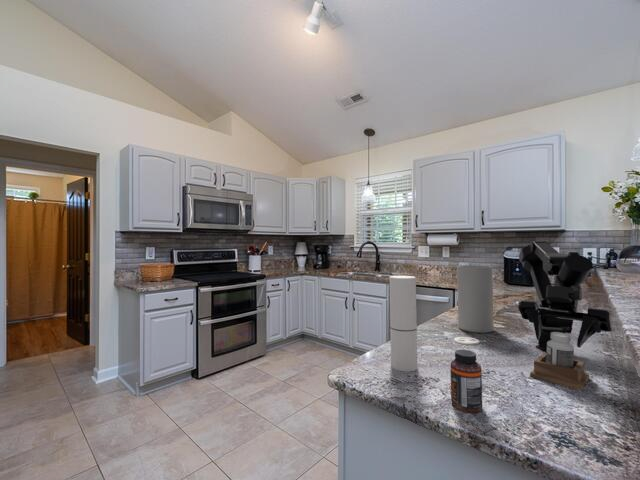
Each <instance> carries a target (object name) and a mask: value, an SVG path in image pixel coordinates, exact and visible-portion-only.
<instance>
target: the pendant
mask: <svg viewBox="0 0 640 480" xmlns="http://www.w3.org/2000/svg"><path fill="white" fill-rule="evenodd" d="M453 341H454V343H456V344H459V345H464V346H465V345H466V346H467V345H468V346H476V345H479V344H480V342H481V340H479V339H477V338H474V337H469V336H459V337H458V336H457V337H454V339H453ZM482 342H487V341H486V340H482Z"/></svg>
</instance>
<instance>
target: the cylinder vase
mask: <svg viewBox="0 0 640 480" xmlns="http://www.w3.org/2000/svg"><path fill="white" fill-rule="evenodd" d="M456 272H457V273H456V274H457V275H456V278H457V279H456V280H457V316H458V317H457V318H458V319H457V321H458V322H457V323H458V324H457V325H458V328H459V329H461V330H462V331H464V332H468V333H469V332H470V333H475V334H489V333H491V332H493V331H494V329H495V328H494V292H493V291H494V290H493V288H494V287H493V286H494V285H493V283H494V282H493V266H490V265H477V264H476V265H472V264H471V265H470V264H469V265H463V264H461V265H457V266H456Z"/></svg>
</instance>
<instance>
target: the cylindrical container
mask: <svg viewBox="0 0 640 480" xmlns="http://www.w3.org/2000/svg"><path fill="white" fill-rule="evenodd" d="M388 277H389V320H390V321H389V323H390V327H389V328H390V333H389V334H390V338H389V339H390V367H391V368H392V369H393V370H395V371H399V372H415V371H416V370H417V369H418V339H417V338H418V332H417V331H418V330H417V327H418V326H417V321H418V320H417V284H416V283H417V278H416V276H413V275H390V276H388Z"/></svg>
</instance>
